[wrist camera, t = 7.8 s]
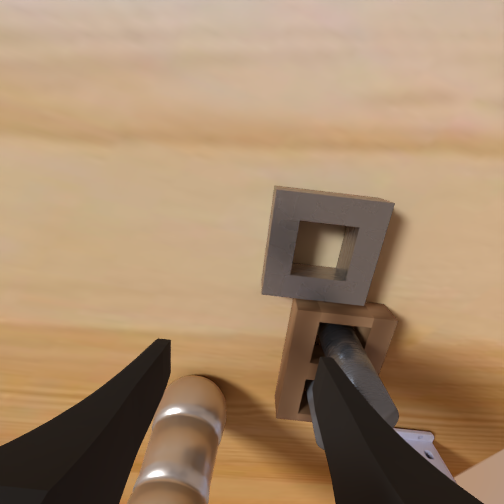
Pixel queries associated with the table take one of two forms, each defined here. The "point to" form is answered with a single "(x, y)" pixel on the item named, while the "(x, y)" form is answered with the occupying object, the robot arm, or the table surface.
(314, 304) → the rack
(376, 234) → the socket block
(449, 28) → the table surface
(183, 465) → the plastic bottle
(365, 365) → the shiny steel cylinder
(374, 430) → the robot arm
